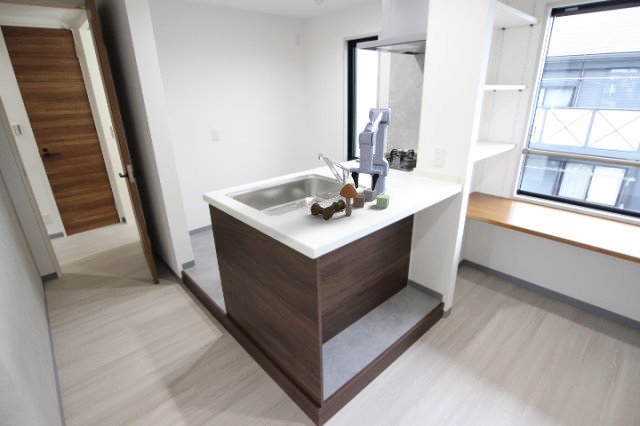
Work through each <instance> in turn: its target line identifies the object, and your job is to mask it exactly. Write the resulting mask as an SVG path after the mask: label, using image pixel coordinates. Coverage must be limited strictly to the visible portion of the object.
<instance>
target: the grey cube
mask: <svg viewBox="0 0 640 426" xmlns="http://www.w3.org/2000/svg"><path fill="white" fill-rule="evenodd" d="M363 194H365V200H364V201H369V202H374V201H375V200H376V201H377V196H378V194H377V189H374V191H372V188H371V187H368V188H366V189H364V190H363Z"/></svg>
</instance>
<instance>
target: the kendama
mask: <svg viewBox="0 0 640 426" xmlns="http://www.w3.org/2000/svg"><path fill="white" fill-rule="evenodd" d="M345 209H346V200H345V201H344V200H343V199H341V198H339V199H338V200H337V201H333V202H332V203H331V205H329V206H327V207H322V206H321V205H320V204H319V203H318V202H314V203H312V205H310V215H311V216H312V215H314V216H316V215H317V216H318V215H321V216H322V218H323V219H324V220H325V221H328V220H330V219H332V218H333V215H334V211H335V212H338V211H339V210H341V211H343V210H344V211H345Z"/></svg>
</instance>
